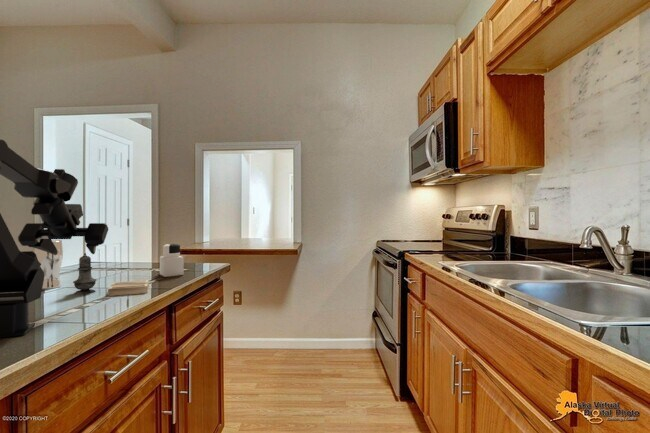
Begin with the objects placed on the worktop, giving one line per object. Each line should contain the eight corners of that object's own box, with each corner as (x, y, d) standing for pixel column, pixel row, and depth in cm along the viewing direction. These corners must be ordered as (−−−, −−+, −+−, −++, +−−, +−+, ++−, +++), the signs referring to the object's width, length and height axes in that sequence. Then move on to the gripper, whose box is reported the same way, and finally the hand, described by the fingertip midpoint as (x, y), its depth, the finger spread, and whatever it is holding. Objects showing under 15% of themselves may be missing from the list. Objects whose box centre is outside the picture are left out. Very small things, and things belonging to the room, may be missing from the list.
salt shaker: (84, 295, 97) (84, 254, 97) (67, 294, 98) (67, 253, 98) (101, 290, 103) (101, 252, 103) (85, 289, 104) (85, 251, 104)
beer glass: (30, 288, 106) (30, 241, 106) (56, 284, 112) (56, 239, 112) (40, 290, 103) (41, 242, 103) (66, 286, 109) (67, 240, 109)
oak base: (147, 292, 101) (147, 285, 101) (108, 296, 97) (108, 288, 97) (148, 286, 110) (148, 279, 110) (113, 288, 106) (113, 282, 106)
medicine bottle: (178, 272, 136) (178, 243, 136) (183, 275, 130) (183, 244, 130) (159, 274, 131) (159, 244, 131) (164, 277, 126) (164, 245, 126)
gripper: (106, 194, 92) (119, 231, 102) (24, 192, 87) (47, 232, 97) (94, 223, 84) (110, 261, 95) (4, 223, 79) (31, 263, 90)
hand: (75, 253), depth 95 cm, fingers open, 9 cm apart
